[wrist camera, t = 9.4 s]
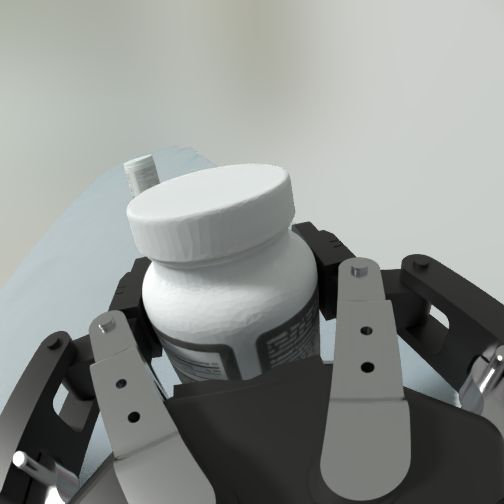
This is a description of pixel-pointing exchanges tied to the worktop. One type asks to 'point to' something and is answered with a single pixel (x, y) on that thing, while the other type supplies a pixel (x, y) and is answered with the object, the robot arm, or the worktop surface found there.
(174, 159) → the worktop surface
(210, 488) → the robot arm
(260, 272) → the pill bottle
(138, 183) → the supplement tub
